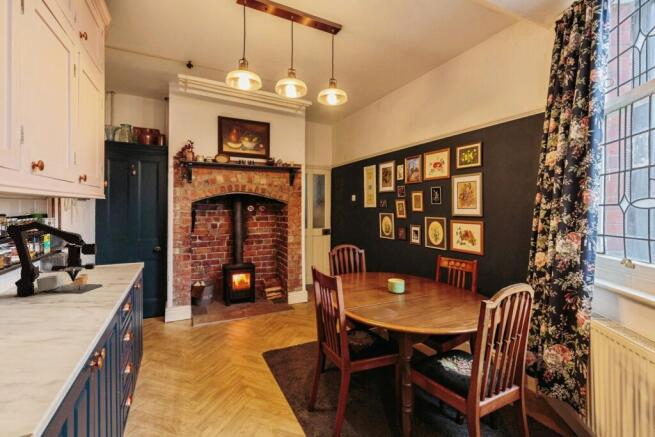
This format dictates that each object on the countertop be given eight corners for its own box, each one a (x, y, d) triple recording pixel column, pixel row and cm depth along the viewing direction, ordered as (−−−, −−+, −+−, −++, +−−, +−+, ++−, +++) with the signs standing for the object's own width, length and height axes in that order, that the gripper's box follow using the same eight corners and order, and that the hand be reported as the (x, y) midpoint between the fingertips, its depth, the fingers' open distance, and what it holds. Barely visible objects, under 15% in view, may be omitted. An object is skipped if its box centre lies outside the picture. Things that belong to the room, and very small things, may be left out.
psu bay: (82, 293, 171) (82, 286, 170) (46, 292, 170) (46, 285, 170) (102, 286, 187) (102, 279, 186) (70, 285, 186) (70, 279, 186)
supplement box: (47, 275, 181) (36, 278, 169) (62, 273, 183) (52, 276, 172) (48, 287, 181) (37, 291, 169) (64, 285, 183) (54, 289, 172)
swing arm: (80, 279, 185) (80, 274, 185) (88, 278, 187) (88, 273, 186) (74, 285, 171) (74, 280, 171) (83, 284, 173) (83, 279, 173)
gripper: (96, 252, 185) (95, 277, 185) (57, 253, 175) (56, 279, 176) (93, 255, 175) (92, 281, 175) (51, 256, 166) (50, 284, 166)
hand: (73, 281), depth 173 cm, fingers closed
